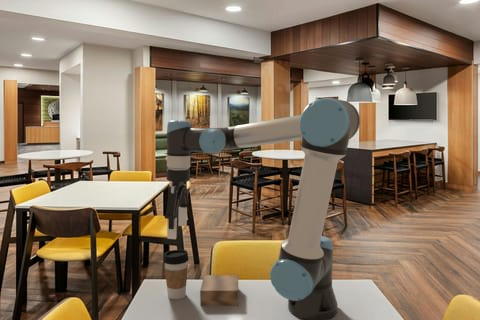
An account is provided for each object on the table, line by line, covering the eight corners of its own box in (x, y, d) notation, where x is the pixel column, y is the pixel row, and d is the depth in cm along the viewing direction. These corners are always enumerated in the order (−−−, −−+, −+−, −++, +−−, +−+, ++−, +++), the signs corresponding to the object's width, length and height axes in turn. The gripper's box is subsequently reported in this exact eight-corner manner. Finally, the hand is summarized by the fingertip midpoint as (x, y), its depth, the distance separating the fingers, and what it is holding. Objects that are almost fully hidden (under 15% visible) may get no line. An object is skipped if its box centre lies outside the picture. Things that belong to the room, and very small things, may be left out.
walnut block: (238, 288, 132) (238, 275, 131) (238, 305, 120) (237, 290, 119) (204, 289, 132) (203, 275, 131) (200, 305, 120) (200, 290, 119)
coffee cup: (184, 302, 122) (183, 257, 121) (160, 299, 124) (158, 255, 122) (192, 290, 130) (191, 248, 129) (169, 288, 132) (168, 247, 130)
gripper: (177, 162, 134) (176, 220, 137) (154, 173, 110) (154, 243, 112) (197, 163, 134) (196, 221, 136) (180, 174, 109) (179, 245, 111)
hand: (177, 231), depth 124 cm, fingers open, 13 cm apart
